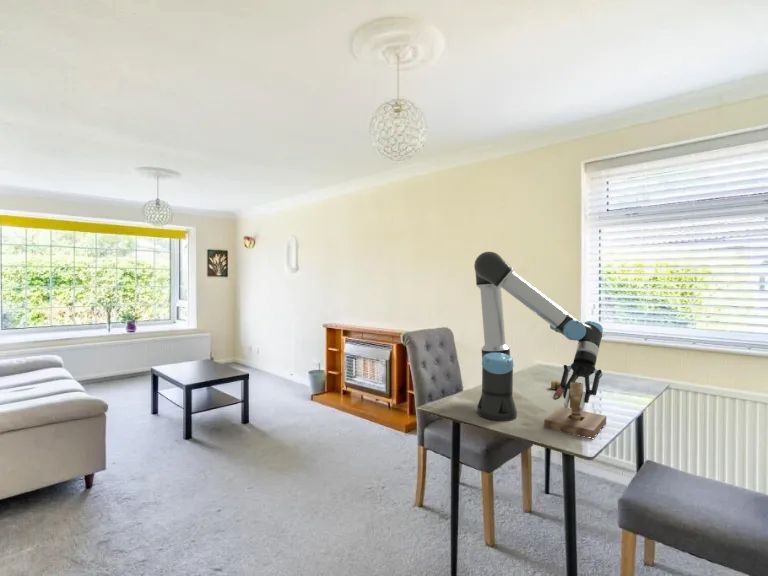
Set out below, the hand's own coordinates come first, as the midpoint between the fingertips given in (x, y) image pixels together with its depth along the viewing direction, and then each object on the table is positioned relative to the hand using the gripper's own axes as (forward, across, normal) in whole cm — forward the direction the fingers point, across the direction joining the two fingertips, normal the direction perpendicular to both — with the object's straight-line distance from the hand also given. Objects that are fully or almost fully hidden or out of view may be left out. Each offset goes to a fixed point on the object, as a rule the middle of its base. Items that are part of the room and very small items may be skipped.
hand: (573, 407), depth 143 cm
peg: (+2, 0, -7) cm, 7 cm away
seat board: (+3, 0, -8) cm, 8 cm away
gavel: (-25, +17, -37) cm, 48 cm away
